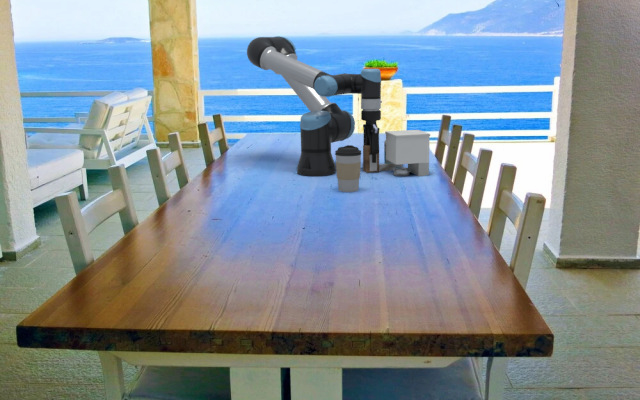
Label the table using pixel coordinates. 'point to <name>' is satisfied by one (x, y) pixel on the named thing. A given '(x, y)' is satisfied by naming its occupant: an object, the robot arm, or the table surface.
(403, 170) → the silver shallow dome
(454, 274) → the table surface
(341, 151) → the coffee cup
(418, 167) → the cabinet
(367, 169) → the wood grain block
